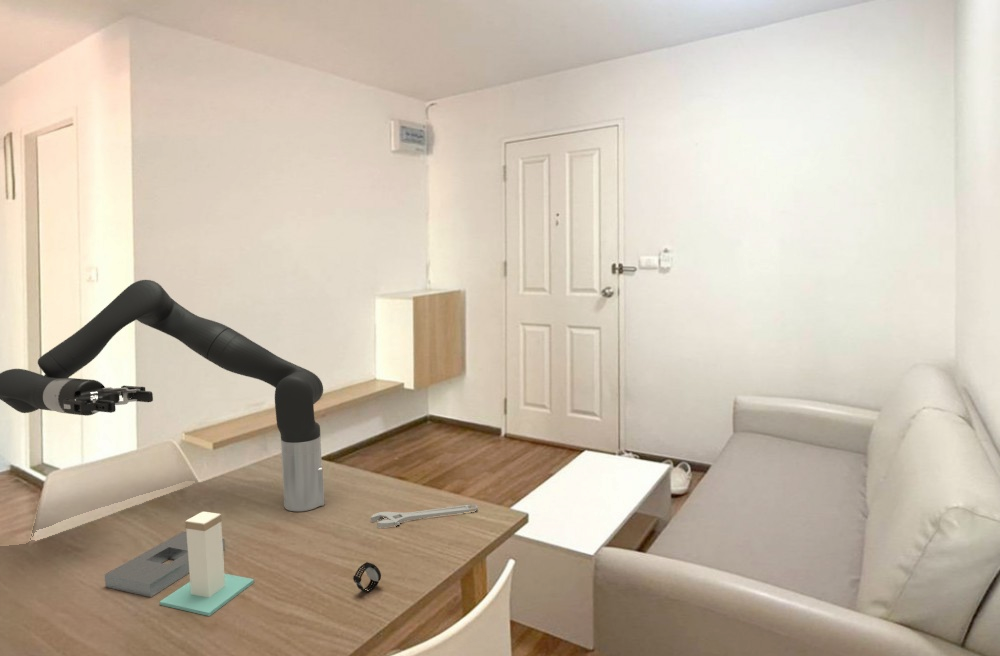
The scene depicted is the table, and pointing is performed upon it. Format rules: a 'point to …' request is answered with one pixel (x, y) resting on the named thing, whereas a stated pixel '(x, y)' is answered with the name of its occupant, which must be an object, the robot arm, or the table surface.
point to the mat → (204, 604)
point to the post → (205, 554)
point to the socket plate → (153, 568)
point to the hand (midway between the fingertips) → (133, 401)
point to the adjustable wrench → (417, 515)
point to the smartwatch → (372, 574)
